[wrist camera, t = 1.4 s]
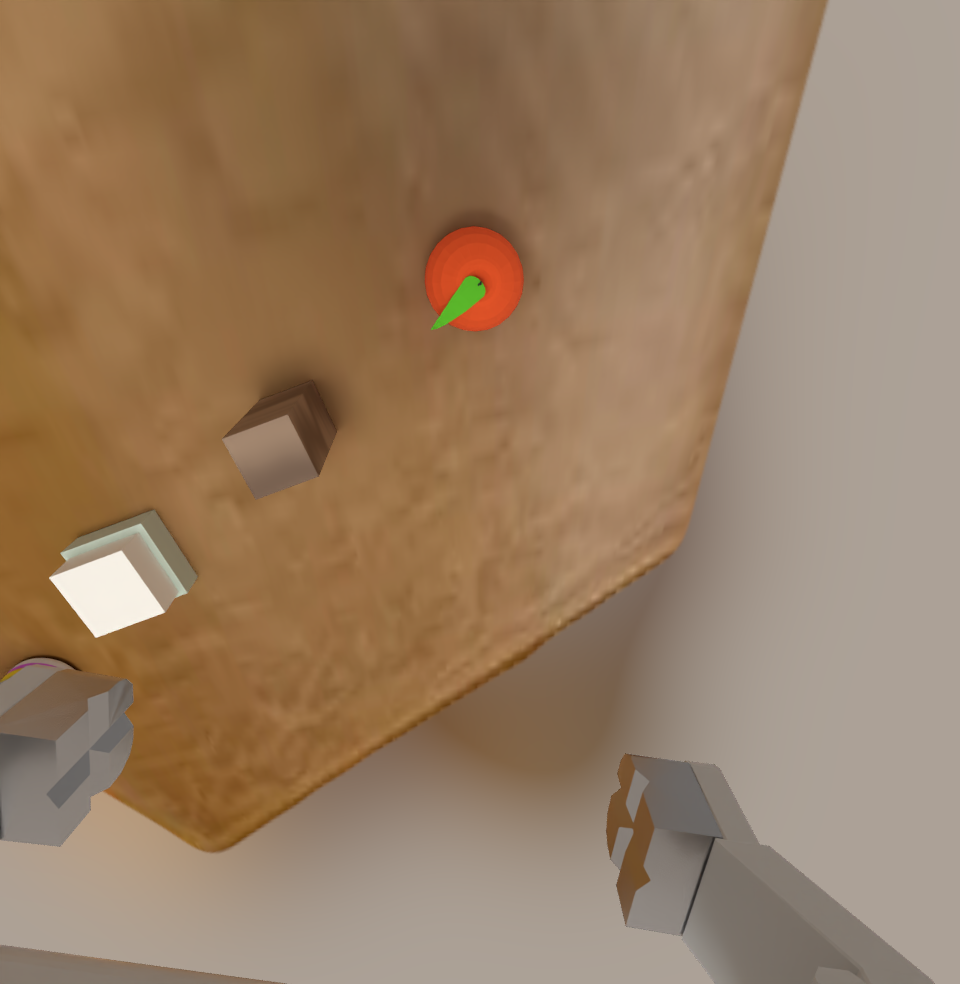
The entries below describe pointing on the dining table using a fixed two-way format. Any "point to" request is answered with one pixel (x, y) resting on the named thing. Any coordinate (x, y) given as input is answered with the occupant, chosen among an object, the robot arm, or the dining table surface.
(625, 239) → the dining table surface
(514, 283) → the clementine
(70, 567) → the tower cap
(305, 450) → the walnut post
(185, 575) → the tower base
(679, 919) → the robot arm
